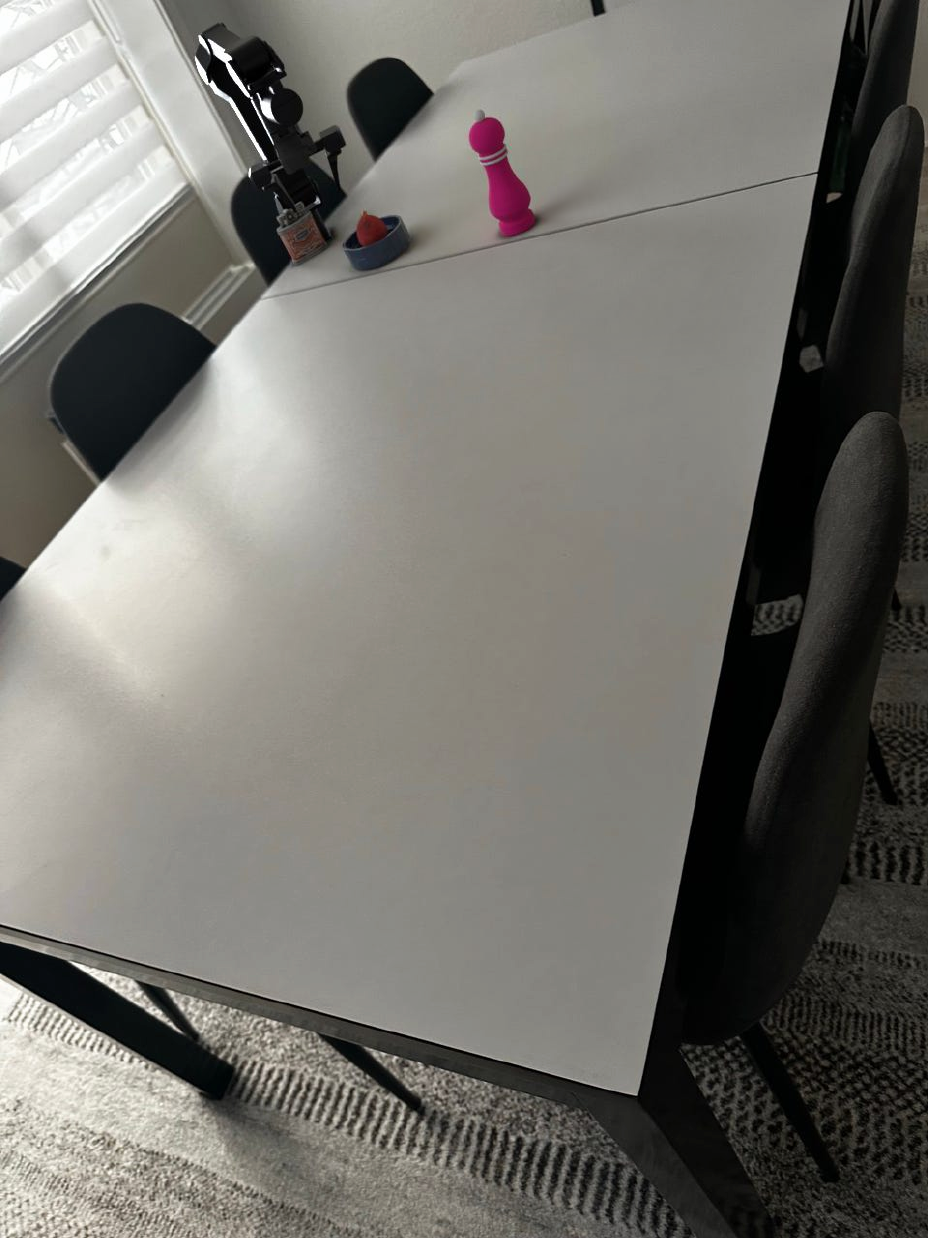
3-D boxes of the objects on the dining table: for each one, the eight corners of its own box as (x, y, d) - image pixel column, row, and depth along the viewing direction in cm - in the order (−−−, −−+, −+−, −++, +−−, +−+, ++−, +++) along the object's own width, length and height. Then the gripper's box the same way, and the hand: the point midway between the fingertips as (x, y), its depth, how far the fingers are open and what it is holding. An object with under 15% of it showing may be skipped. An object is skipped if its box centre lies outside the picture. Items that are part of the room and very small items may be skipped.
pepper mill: (543, 212, 163) (504, 94, 150) (530, 233, 158) (489, 114, 145) (506, 220, 166) (466, 106, 153) (493, 241, 162) (450, 125, 149)
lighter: (296, 266, 192) (273, 221, 185) (291, 261, 194) (268, 217, 187) (329, 245, 193) (307, 200, 186) (323, 241, 195) (301, 196, 188)
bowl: (350, 256, 184) (340, 235, 181) (407, 229, 182) (398, 207, 179) (355, 279, 174) (345, 257, 171) (415, 251, 173) (405, 228, 170)
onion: (391, 253, 175) (372, 213, 170) (364, 262, 177) (345, 223, 172) (396, 239, 179) (379, 200, 174) (370, 248, 181) (352, 209, 176)
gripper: (232, 153, 161) (276, 237, 172) (328, 105, 159) (367, 192, 170) (231, 137, 170) (274, 217, 180) (323, 90, 168) (360, 175, 178)
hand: (318, 201), depth 177 cm, fingers open, 9 cm apart
